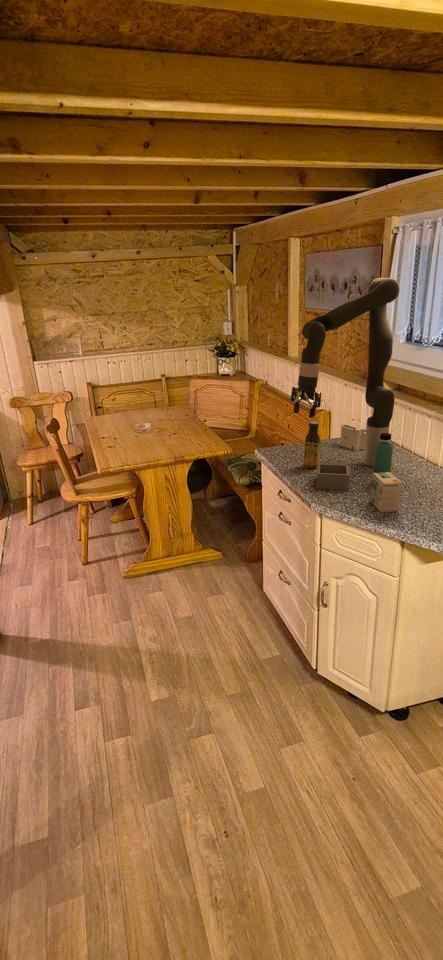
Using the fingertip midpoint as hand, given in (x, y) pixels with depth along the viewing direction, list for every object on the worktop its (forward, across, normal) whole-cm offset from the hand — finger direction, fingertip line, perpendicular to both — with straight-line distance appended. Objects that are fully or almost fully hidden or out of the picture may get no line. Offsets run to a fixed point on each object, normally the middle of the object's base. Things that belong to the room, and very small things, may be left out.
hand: (303, 415), depth 206 cm
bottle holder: (+24, -18, -2) cm, 30 cm away
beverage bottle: (+22, -30, -17) cm, 41 cm away
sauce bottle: (+24, +1, -9) cm, 26 cm away
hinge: (+21, +7, -44) cm, 49 cm away
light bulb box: (+23, -44, 0) cm, 50 cm away
